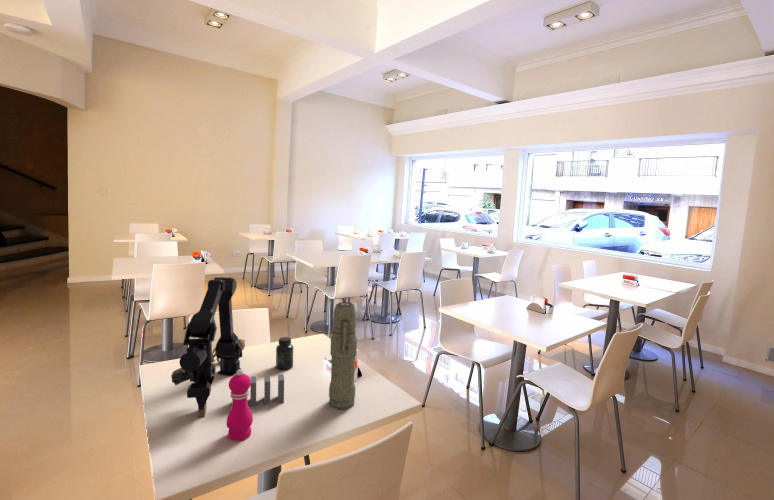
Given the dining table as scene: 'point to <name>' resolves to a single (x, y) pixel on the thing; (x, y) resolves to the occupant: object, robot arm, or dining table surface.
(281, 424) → the dining table surface
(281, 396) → the domino
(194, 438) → the dining table surface
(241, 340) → the lion figurine
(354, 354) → the thermos
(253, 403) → the domino
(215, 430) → the dining table surface
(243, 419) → the pepper mill
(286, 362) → the supplement bottle
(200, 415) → the domino
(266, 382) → the domino
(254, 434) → the dining table surface
